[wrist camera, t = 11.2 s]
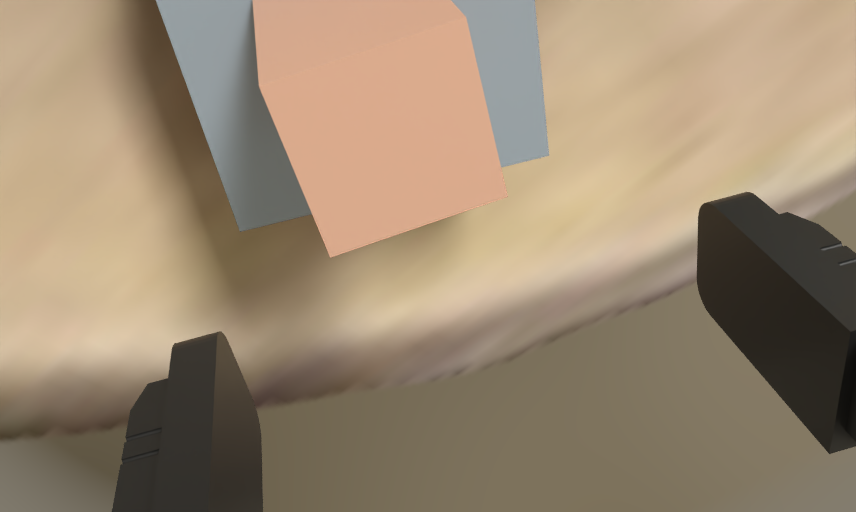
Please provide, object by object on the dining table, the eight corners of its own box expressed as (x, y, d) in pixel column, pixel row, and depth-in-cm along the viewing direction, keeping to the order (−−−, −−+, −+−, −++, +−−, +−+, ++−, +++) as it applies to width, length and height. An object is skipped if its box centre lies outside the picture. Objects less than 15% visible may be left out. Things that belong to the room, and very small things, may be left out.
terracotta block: (252, -4, 24) (258, 86, 17) (402, -54, 24) (466, 16, 17) (306, 135, 27) (330, 257, 20) (441, 90, 27) (507, 196, 20)
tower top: (131, -134, 25) (111, -121, 22) (481, -208, 26) (515, -207, 23) (241, 184, 32) (240, 231, 28) (518, 117, 32) (549, 155, 29)
